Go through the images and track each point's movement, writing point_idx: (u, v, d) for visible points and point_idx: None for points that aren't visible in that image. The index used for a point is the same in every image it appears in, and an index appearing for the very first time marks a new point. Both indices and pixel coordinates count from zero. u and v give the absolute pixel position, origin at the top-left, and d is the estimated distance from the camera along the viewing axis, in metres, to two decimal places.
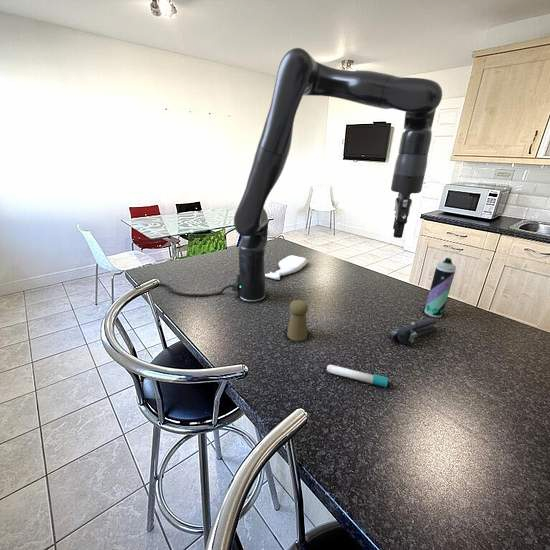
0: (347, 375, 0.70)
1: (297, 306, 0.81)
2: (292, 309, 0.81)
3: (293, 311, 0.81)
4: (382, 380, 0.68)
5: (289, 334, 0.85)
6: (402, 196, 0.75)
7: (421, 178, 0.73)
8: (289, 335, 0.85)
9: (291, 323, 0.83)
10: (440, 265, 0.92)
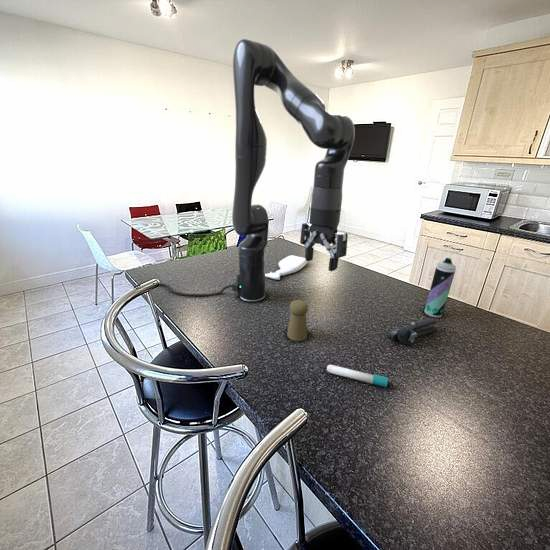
0: (347, 375, 0.70)
1: (297, 306, 0.81)
2: (292, 309, 0.81)
3: (293, 311, 0.81)
4: (382, 380, 0.68)
5: (289, 334, 0.85)
6: (333, 230, 0.72)
7: None
8: (289, 335, 0.85)
9: (291, 323, 0.83)
10: (440, 265, 0.92)
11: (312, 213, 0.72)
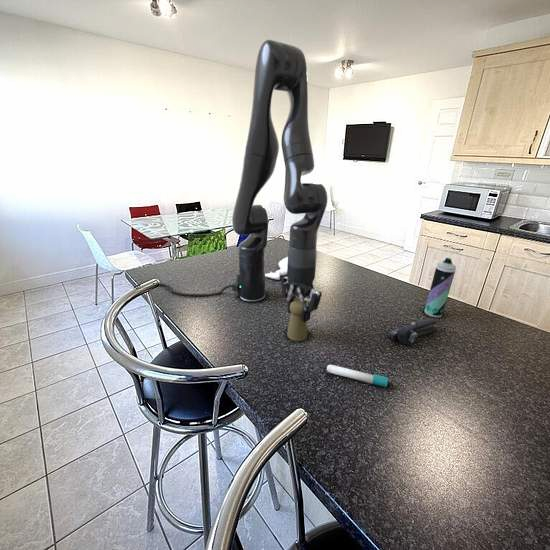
0: (347, 375, 0.70)
1: (297, 306, 0.81)
2: (292, 309, 0.81)
3: (293, 311, 0.81)
4: (382, 380, 0.68)
5: (289, 334, 0.85)
6: (308, 286, 0.76)
7: None
8: (289, 335, 0.85)
9: (291, 323, 0.83)
10: (440, 265, 0.92)
11: (289, 270, 0.76)
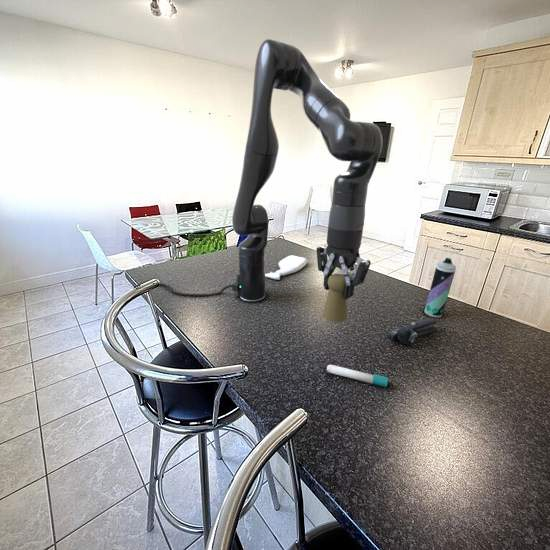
0: (347, 375, 0.70)
1: (338, 279, 0.67)
2: (331, 284, 0.68)
3: (333, 286, 0.68)
4: (382, 380, 0.68)
5: (326, 314, 0.71)
6: (354, 253, 0.63)
7: None
8: (326, 316, 0.71)
9: (329, 301, 0.70)
10: (440, 265, 0.92)
11: (330, 234, 0.63)
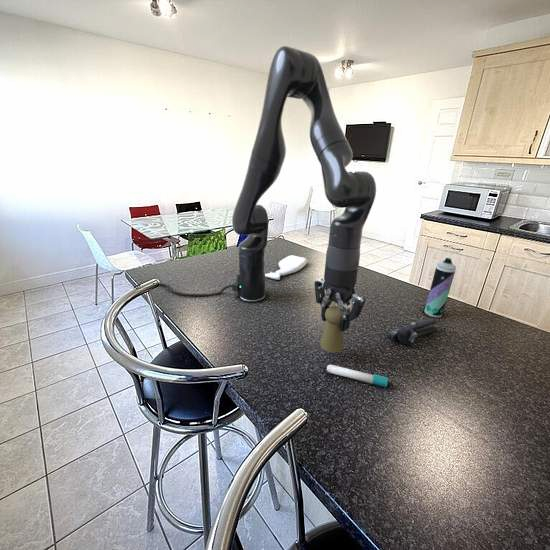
0: (347, 375, 0.70)
1: (335, 313, 0.71)
2: (329, 317, 0.71)
3: (330, 319, 0.71)
4: (382, 380, 0.68)
5: (323, 345, 0.75)
6: (350, 291, 0.66)
7: None
8: (323, 346, 0.75)
9: (326, 332, 0.74)
10: (440, 265, 0.92)
11: (327, 272, 0.66)
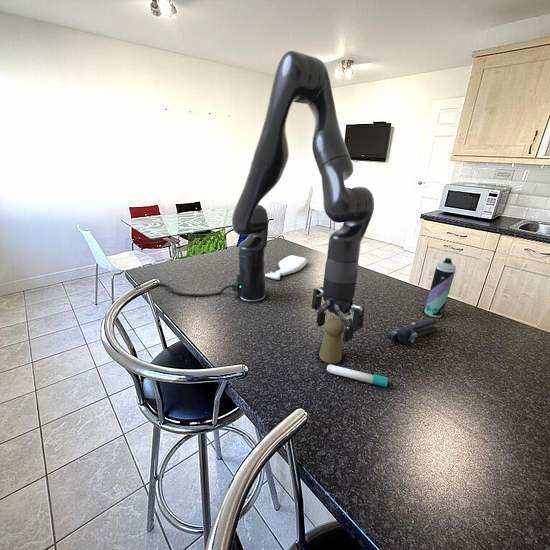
0: (347, 375, 0.70)
1: (333, 325, 0.72)
2: (327, 329, 0.73)
3: (328, 331, 0.73)
4: (382, 380, 0.68)
5: (322, 356, 0.76)
6: (348, 303, 0.68)
7: None
8: (322, 357, 0.76)
9: (325, 344, 0.75)
10: (440, 265, 0.92)
11: (326, 284, 0.68)
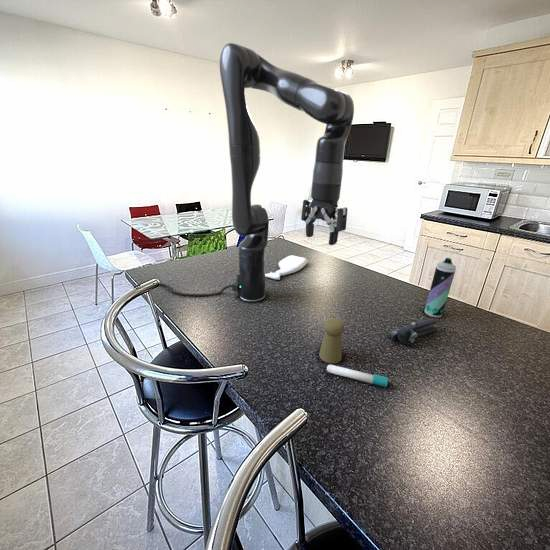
0: (347, 375, 0.70)
1: (333, 325, 0.72)
2: (327, 329, 0.73)
3: (328, 331, 0.73)
4: (382, 380, 0.68)
5: (322, 356, 0.76)
6: (333, 205, 0.75)
7: None
8: (322, 357, 0.76)
9: (325, 344, 0.75)
10: (440, 265, 0.92)
11: (313, 188, 0.75)
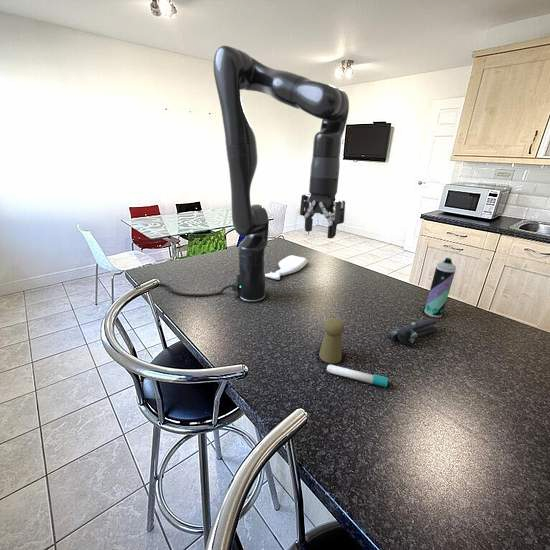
0: (347, 375, 0.70)
1: (333, 325, 0.72)
2: (327, 329, 0.73)
3: (328, 331, 0.73)
4: (382, 380, 0.68)
5: (322, 356, 0.76)
6: (331, 198, 0.77)
7: None
8: (322, 357, 0.76)
9: (325, 344, 0.75)
10: (440, 265, 0.92)
11: (311, 182, 0.77)
